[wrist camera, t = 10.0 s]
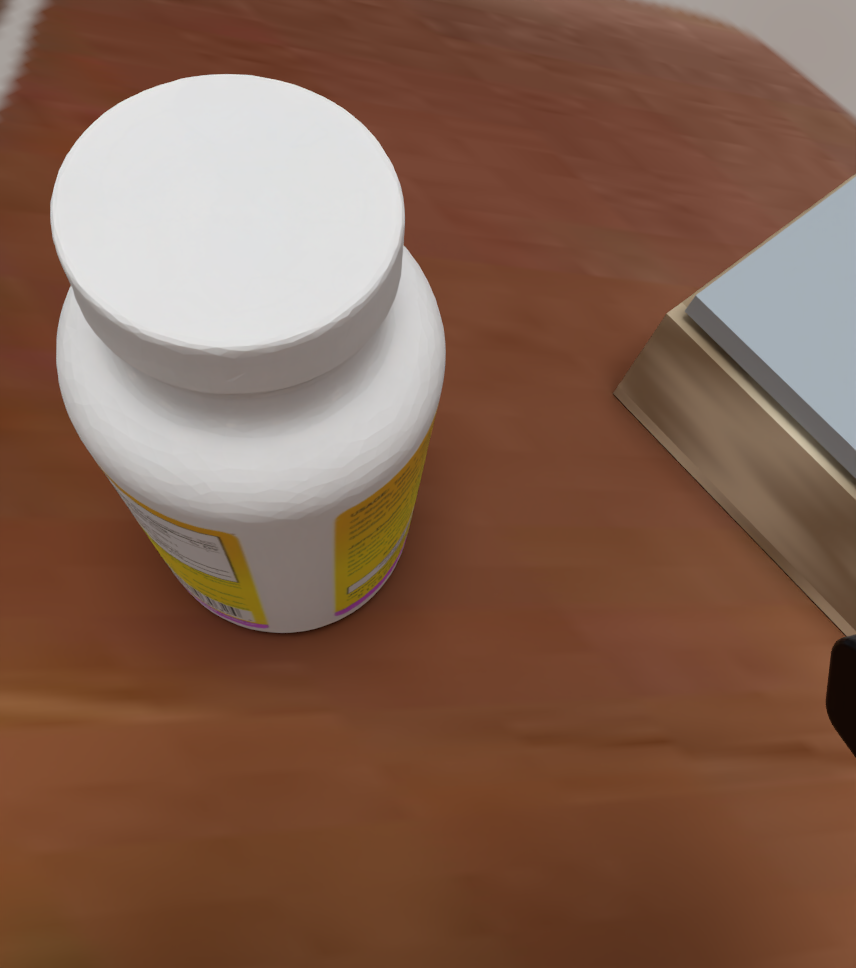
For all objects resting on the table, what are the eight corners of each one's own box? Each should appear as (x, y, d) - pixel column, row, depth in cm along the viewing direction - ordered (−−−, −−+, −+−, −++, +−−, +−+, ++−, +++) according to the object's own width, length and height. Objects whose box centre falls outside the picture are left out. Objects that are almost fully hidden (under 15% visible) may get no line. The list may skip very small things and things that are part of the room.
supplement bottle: (393, 406, 24) (449, 20, 13) (420, 624, 22) (521, 404, 10) (161, 421, 23) (-15, 18, 12) (164, 651, 21) (-56, 443, 9)
